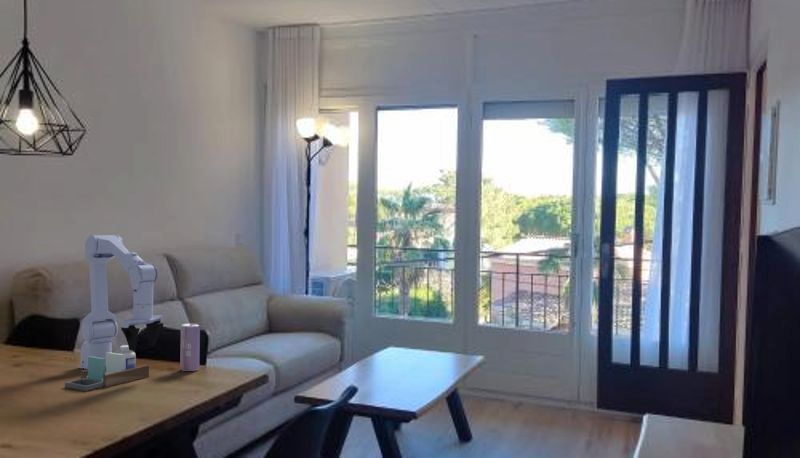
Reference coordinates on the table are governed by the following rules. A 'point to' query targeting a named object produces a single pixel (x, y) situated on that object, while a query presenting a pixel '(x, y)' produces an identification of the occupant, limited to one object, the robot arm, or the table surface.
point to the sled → (113, 364)
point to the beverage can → (190, 347)
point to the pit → (84, 384)
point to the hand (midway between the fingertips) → (142, 348)
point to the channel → (122, 375)
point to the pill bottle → (128, 356)
